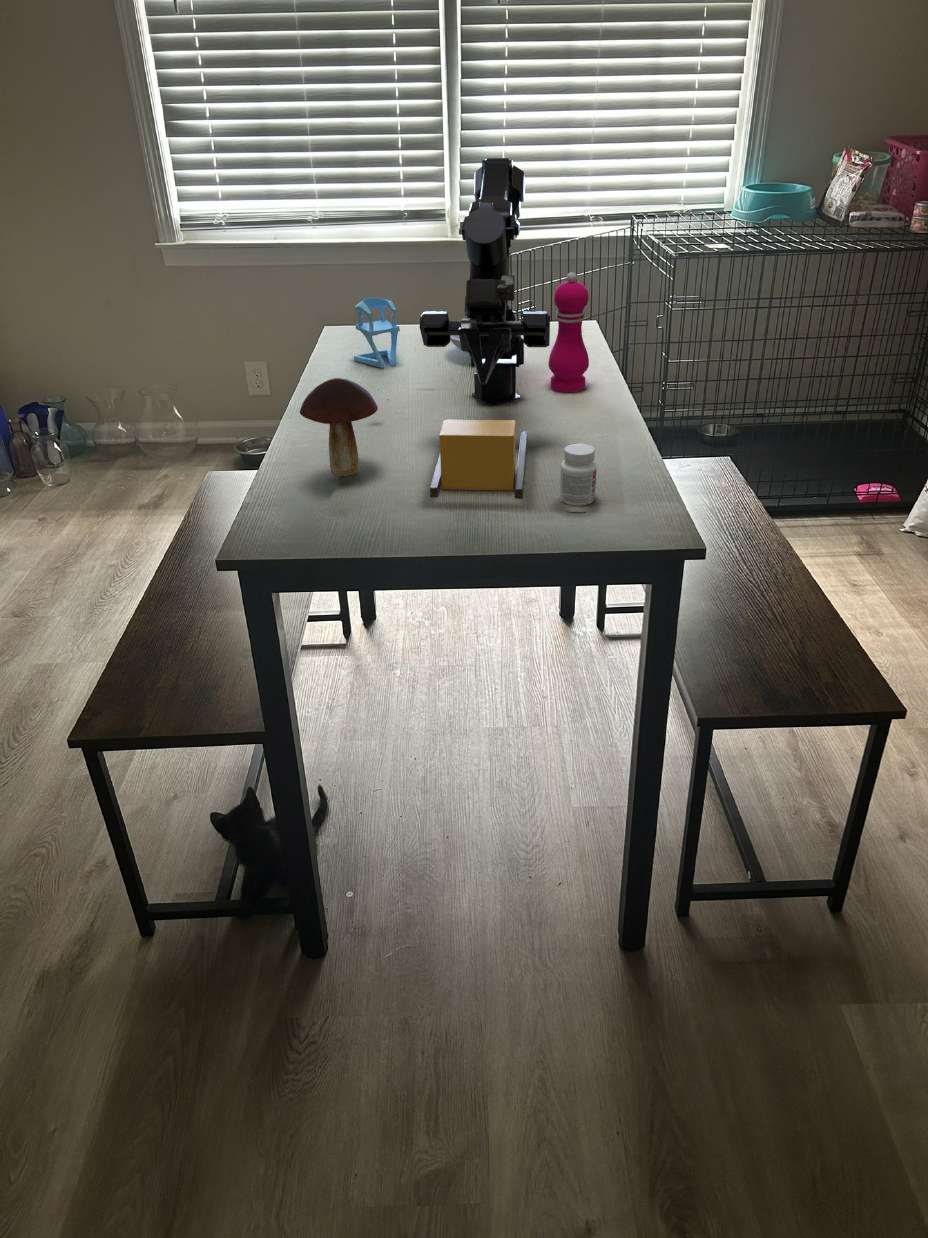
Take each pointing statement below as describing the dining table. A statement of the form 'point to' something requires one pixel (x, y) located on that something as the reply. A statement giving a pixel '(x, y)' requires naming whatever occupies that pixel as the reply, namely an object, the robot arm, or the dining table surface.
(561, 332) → the pepper mill
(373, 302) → the chair
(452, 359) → the dining table surface
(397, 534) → the dining table surface
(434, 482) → the maple track
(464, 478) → the ochre block
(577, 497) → the pill bottle
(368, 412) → the decorative mushroom
